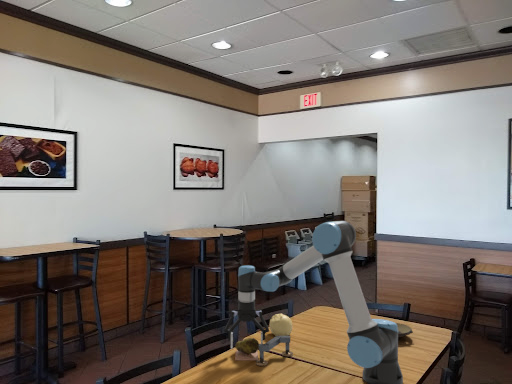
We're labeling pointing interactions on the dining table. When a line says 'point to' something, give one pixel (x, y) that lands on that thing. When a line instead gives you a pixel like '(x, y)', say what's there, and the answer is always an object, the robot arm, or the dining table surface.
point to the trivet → (246, 356)
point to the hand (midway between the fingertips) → (246, 347)
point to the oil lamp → (403, 330)
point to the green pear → (247, 346)
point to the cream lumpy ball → (280, 325)
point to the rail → (272, 344)
